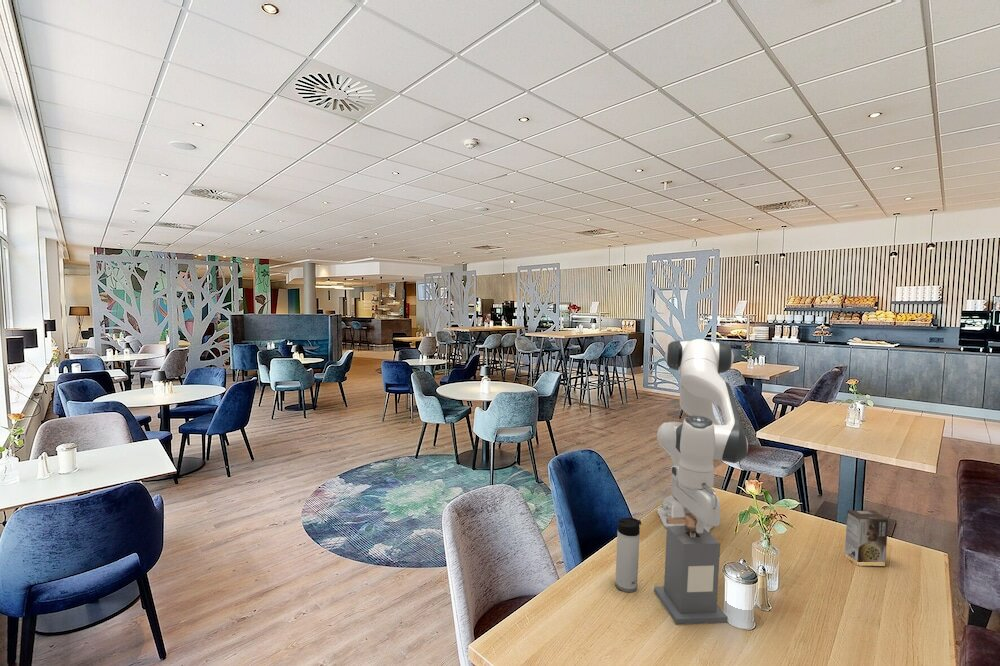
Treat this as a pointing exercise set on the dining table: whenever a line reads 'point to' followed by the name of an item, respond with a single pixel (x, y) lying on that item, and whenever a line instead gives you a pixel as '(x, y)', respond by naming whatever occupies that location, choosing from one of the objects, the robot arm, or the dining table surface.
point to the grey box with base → (691, 578)
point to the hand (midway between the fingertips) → (693, 526)
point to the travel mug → (627, 554)
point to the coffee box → (866, 536)
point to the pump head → (685, 522)
